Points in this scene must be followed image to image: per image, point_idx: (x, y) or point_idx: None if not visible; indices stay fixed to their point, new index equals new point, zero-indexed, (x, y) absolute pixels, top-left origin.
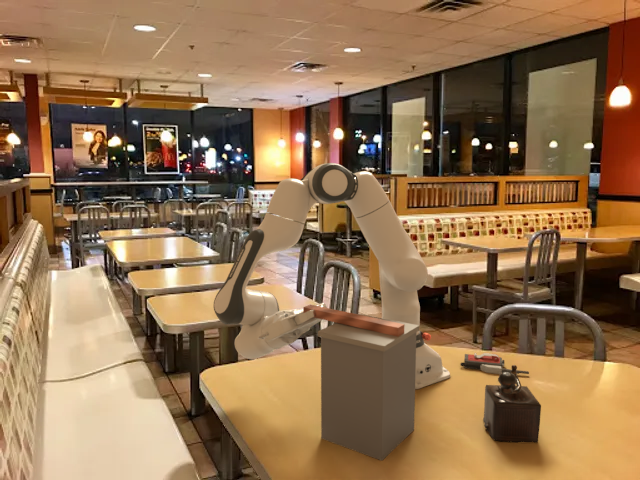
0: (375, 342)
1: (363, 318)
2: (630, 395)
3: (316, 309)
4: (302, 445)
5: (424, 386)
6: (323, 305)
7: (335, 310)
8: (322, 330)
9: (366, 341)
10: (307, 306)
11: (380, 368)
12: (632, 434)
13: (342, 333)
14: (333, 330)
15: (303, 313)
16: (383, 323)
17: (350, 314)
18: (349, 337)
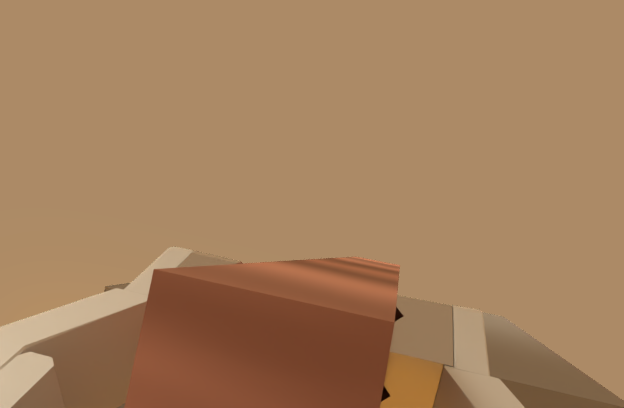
0: (496, 320)
1: (374, 265)
2: None
3: (376, 290)
4: None
5: None
6: (193, 250)
7: (312, 263)
8: (588, 394)
9: (514, 328)
10: (309, 297)
11: None
12: None
13: (517, 350)
14: (519, 365)
15: (520, 406)
16: (387, 264)
17: (349, 264)
18: (535, 344)
